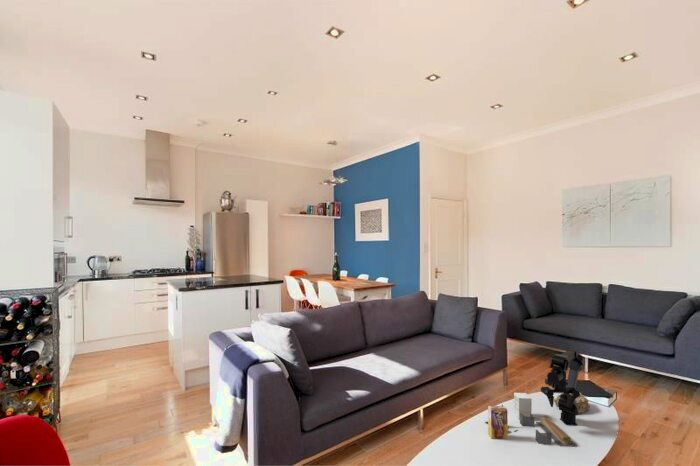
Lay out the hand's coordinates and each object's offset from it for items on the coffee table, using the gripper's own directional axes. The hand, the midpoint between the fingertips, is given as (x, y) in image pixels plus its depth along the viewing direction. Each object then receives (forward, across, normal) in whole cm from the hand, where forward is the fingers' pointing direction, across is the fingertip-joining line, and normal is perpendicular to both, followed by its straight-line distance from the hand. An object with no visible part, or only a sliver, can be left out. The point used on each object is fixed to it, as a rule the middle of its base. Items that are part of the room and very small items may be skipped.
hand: (560, 407), depth 182 cm
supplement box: (+13, +14, -13) cm, 23 cm away
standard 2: (+12, +16, +12) cm, 24 cm away
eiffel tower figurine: (+13, +32, -2) cm, 34 cm away
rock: (+13, -24, -25) cm, 37 cm away
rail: (+12, +5, +4) cm, 14 cm away
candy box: (+13, +38, +8) cm, 41 cm away
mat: (+12, +5, +4) cm, 14 cm away
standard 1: (+12, +16, -4) cm, 21 cm away
